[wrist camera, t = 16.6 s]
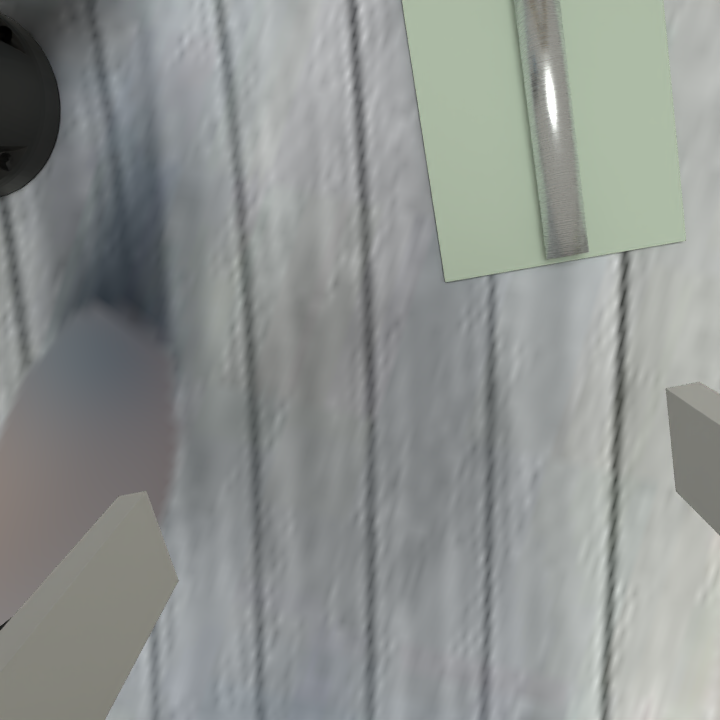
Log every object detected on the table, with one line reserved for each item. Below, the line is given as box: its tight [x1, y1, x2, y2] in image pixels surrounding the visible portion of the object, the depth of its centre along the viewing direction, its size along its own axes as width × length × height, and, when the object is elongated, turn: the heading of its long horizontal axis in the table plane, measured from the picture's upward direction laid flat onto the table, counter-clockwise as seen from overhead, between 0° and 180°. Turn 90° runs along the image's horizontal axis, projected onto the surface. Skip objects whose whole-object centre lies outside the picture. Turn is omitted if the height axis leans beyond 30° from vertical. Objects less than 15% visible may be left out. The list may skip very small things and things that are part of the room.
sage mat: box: [402, 0, 686, 282], centre depth 43 cm, size 28×18×1 cm, turn 10°
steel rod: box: [514, 0, 589, 259], centre depth 42 cm, size 24×3×3 cm, turn 10°
